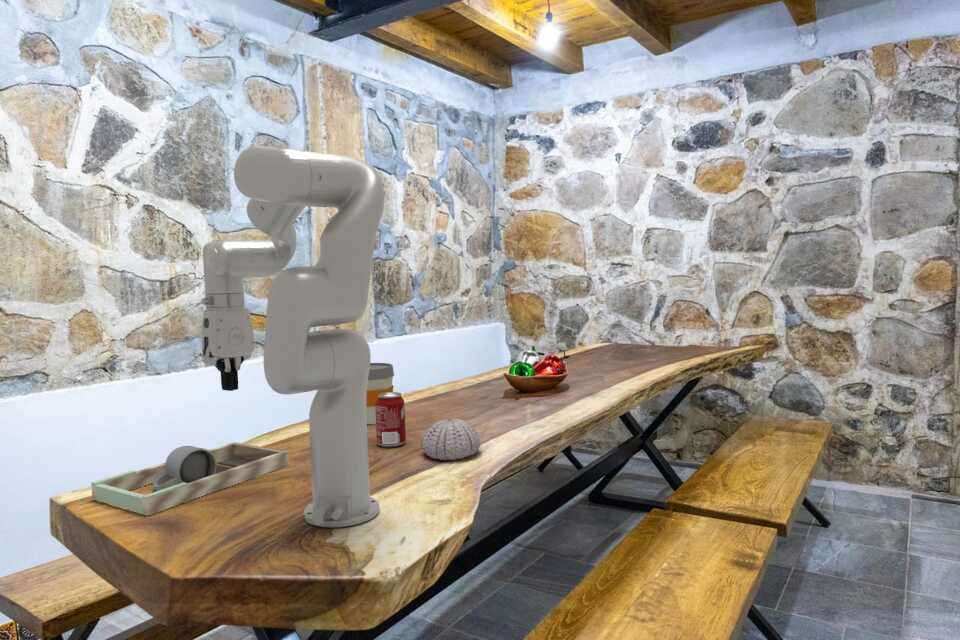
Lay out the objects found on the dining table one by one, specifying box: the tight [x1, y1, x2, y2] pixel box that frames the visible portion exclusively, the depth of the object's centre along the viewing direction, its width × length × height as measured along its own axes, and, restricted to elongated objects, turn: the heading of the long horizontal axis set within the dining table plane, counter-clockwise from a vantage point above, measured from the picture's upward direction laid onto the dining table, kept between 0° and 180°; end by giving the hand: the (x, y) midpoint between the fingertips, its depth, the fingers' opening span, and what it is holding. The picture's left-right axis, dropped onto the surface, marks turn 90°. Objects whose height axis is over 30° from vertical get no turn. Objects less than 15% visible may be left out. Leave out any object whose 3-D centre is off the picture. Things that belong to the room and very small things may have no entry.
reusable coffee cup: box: [366, 362, 395, 425], centre depth 179 cm, size 13×13×15 cm
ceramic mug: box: [152, 445, 218, 492], centre depth 129 cm, size 11×8×8 cm
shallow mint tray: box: [90, 469, 188, 514], centre depth 121 cm, size 8×17×3 cm, turn 59°
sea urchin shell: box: [420, 418, 482, 461], centre depth 146 cm, size 13×14×8 cm
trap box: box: [91, 441, 290, 515], centre depth 131 cm, size 32×17×3 cm, turn 149°
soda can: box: [375, 391, 407, 448], centre depth 154 cm, size 7×7×12 cm
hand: (230, 389), depth 138 cm, fingers closed
